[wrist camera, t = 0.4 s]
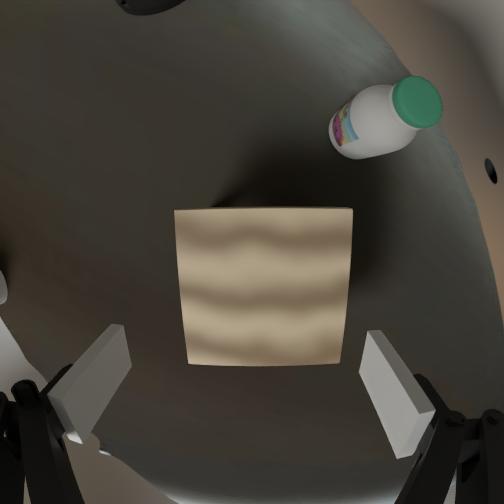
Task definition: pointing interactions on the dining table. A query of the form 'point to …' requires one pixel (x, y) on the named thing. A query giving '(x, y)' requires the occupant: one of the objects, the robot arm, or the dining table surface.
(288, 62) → the dining table surface
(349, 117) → the milk bottle
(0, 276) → the cylinder with rectangular tab
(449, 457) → the robot arm
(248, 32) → the dining table surface
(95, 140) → the dining table surface
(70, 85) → the dining table surface
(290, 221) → the oak footstool
